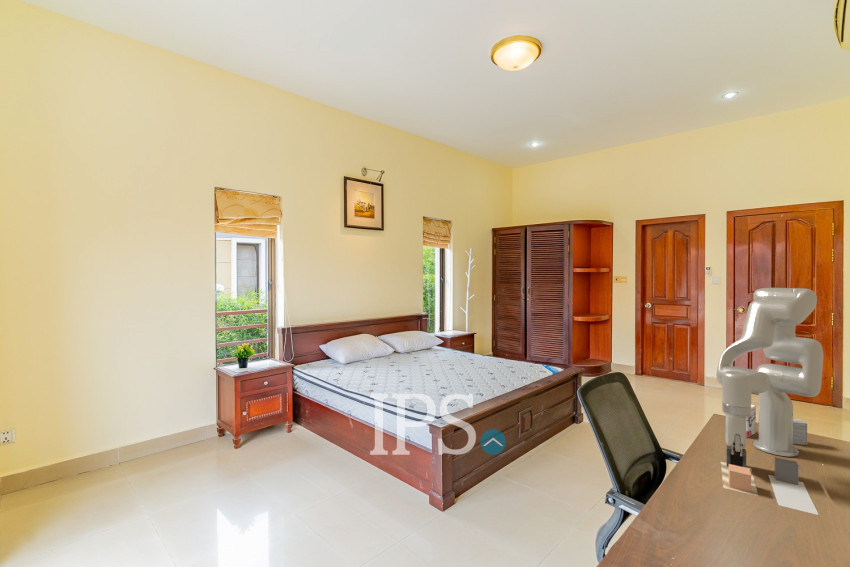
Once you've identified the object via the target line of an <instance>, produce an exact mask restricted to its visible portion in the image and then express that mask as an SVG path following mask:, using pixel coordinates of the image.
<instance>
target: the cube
mask: <svg viewBox="0 0 850 567" xmlns="http://www.w3.org/2000/svg"><path fill="white" fill-rule="evenodd" d="M750 468H751V467H748V468H745V467H740V466H736V465H731V464H729V487H731V488H735V489H740V490H744V491H748V492H751V472H750Z"/></svg>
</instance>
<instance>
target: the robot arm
mask: <svg viewBox="0 0 850 567" xmlns="http://www.w3.org/2000/svg"><path fill="white" fill-rule="evenodd" d="M752 297H753V301H751V302H750V303H749V305H748V307H747V312H746V315H745V318H744V319H745V320H744V325H743V329H742V332H741V336H740V338H739V339H737V340H736V341H734V342H733V343H731V344H729V346H727V347H726V349H724V351H723V352H722V353H721V355H720V357H719V361H718V365H717V368H716V375H715V376H716V380H717V383H719V385H721V386H722V388H721V389H722V392H721V394H722V397H721V398H722V400H721V403H722V404H721V406H722V407H721V409H722V410H721V412H722V413H723V414H725V424H724V425H725V426H724V429H725V430H724V431H725V432H724V437H725V444H726V445H728V446H731V453H730V464H731V465H736V466H740V467H743V456H742V448H743V449H745V447H746V443H747V438H746V418H749V417H751V405H752V394H758V439H754V440H753V441H752V442H753V443H752V444H753V446H754V448H756V449H758V450H759V451H762V452H765V453H769V454H771V455H775V456H781V457H792V458H793V457H797V456H799V453H800V451H799V449H798V448H796V447H795V446H794V444H793V419H794V404H793V402H792V400H791V398H790V397H789V395H788V394H792V395H796V396H797V395H798V396H802V397H808V398H814V397H817V396H818V395H819V394H820V392H821V391H822V390H821V389H822V383H823V381H822V380H823V379H822V378H823V367H824V350H823V347H822V344H821V342H820V341H818V340H816V339H813V338H809V337H808V338H807V337H799V336H796V327H797V325H800V324H801V323H803V322H804V321H805V320H806V319H807V318H808V317H809V316H810V315H811V314H812V313H813V312H814V310H815V308H816V306H817V304H818V297H817V294H816V292H815V291H814V290H812V289H810V288H801V287H800V288H799V287H796V288H795V287H792V288H790V287H763V288H758V289H756V290H755V291H754V292H753V296H752ZM758 350H763V354H764V357H765V358H767V359H769V360H771V361H772V360H773V361H777V362H783V363H789V364H797V365H800V366H801V367H797V366H796V367H794V366H789V365H785V364H784V365H783V364H776V363H763V364H760V365H758V367H757V368H756V369H752V368H746V367H741V366H740V367H739V366H734V365H733V363H734V362H735V360H736V359H737V358H739V357H740V356H741V355H743V354H744V355H745V354H747V353H749V352H754V351H758ZM734 447H735V448H734Z"/></svg>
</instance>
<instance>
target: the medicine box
mask: <svg viewBox="0 0 850 567" xmlns="http://www.w3.org/2000/svg"><path fill="white" fill-rule="evenodd" d="M793 445H799V446H800V445H801V446H807V445H808V423H807V422H805V421H804V420H802V419H800V418H793Z"/></svg>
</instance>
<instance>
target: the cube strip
mask: <svg viewBox="0 0 850 567" xmlns="http://www.w3.org/2000/svg"><path fill="white" fill-rule="evenodd" d="M725 448H726V452H725V453H726V455H725V456H726V460H725V462H723V461H720V467H721V476H722V478H721V479H722V486H723V489H727V490H730V491H736V492H739V493H744V494H747V495H751V496H755V497H759V494H758V493H759V492H758V489H757V487H756V481H755V476H754V474H753V470H752V467H747V449H746V448H743V447H742V456H743V467H745V468H750V472H751V492H748V491H744V490H740V489H735V488H731V487H729V464H730V453H731V446H730V445H727V444H726V447H725ZM734 448H735V447H734Z"/></svg>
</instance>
